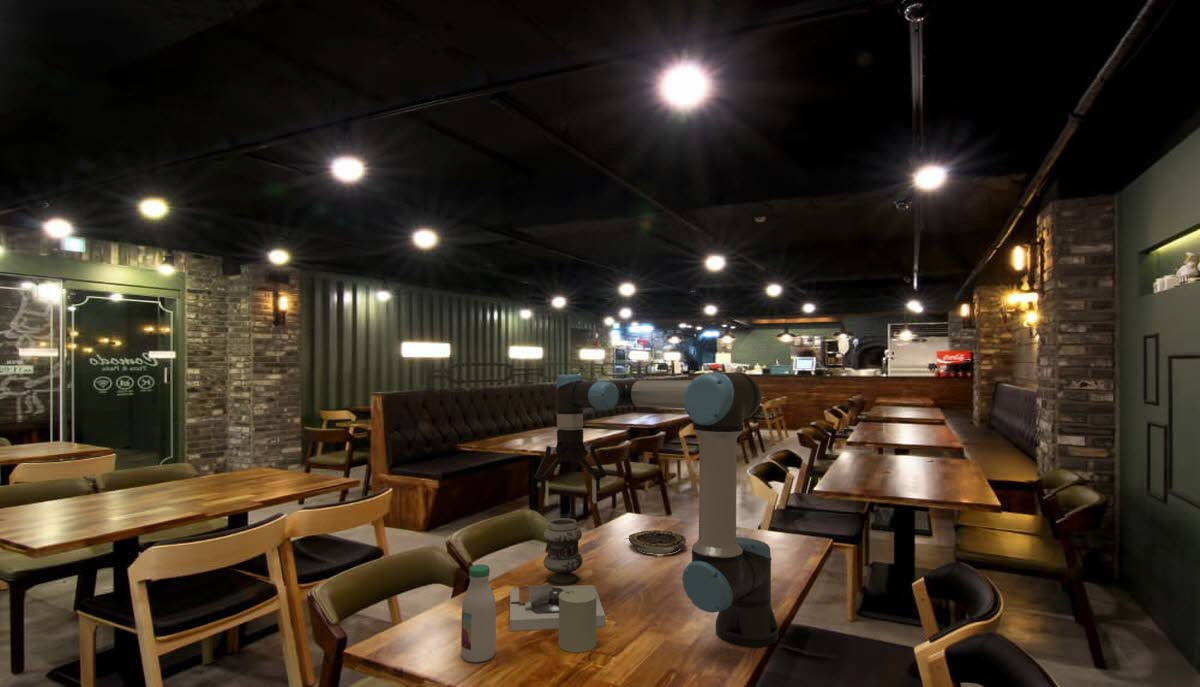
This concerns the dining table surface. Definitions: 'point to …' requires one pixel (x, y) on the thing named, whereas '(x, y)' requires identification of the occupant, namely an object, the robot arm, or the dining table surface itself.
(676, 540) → the pie
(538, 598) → the dial
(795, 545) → the dining table surface
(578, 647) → the can
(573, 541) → the apothecary jar
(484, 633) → the milk bottle
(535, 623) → the panel
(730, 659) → the dining table surface
